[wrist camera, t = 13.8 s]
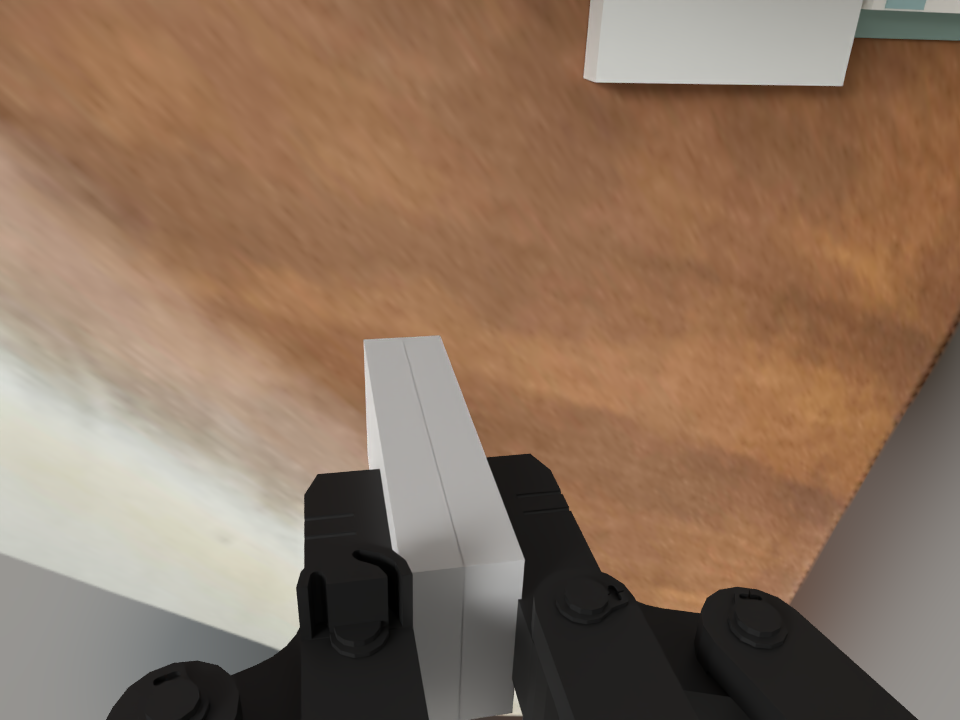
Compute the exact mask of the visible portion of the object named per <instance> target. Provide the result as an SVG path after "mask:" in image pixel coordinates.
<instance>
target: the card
mask: <svg viewBox="0 0 960 720" xmlns="http://www.w3.org/2000/svg"><path fill="white" fill-rule="evenodd" d="M861 9H869V10H891V11H914V12H937V13H960V0H863V2H862V6H861Z"/></svg>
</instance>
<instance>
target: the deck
mask: <svg viewBox="0 0 960 720" xmlns="http://www.w3.org/2000/svg"><path fill="white" fill-rule="evenodd" d="M862 2H863V0H591V1H590V12H589V23H588V34H587V44H586V55H585V66H584V77H583V78H585V79H588V80H590V81H593V82H602V83H670V84H738V85H806V86H843V82H844V78H845V74H846V69H847V65H848V61H849V57H850V53H851V48H852V44H853V40H854V36H855V32H856V27H857V23H858V19H859V15H860V11H861V6H862Z"/></svg>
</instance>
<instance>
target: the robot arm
mask: <svg viewBox="0 0 960 720" xmlns="http://www.w3.org/2000/svg"><path fill="white" fill-rule="evenodd" d="M364 362H365V390H366V418H367V446H368V462H369V469H370V470H361V471H349V472H338V473H326V474H318V475H317V476H316V478H315V479H314V481H313V482H312V484H311V485H310V487H309V489H308V490H307V492H306V493H305V495H304V518H305V522H304V537H305V541H304V569H303V570H302V571H301V573H300V577H299V580H298V584H297V587H296V591H297V601H298V612H299V622H300V628H299V630H298V632H297V634H296V635H295V636H294V638H293V639H292V640H291V641H290V642H289V643H288V645H287V646H286V647H285V648H283V649H282V650H281V651H279V652H278V653H277V654H275V655H274V656H273V657H271V658H269V659H267V660H265V661H263V662H262V663H259V664H257V665H255V666H253V667H250V668H248V669H246V670H243V671H241V672H238V673H236V674H233V675H229V674H228V673H227V672H226V671H225V670H223V669H222V668H221V667H219V666H218V665H214V664H210V663H205V662H201V661H189V662H179V663H172V664H170V665H167V666H165V667H162V668H160V669H157V670H154V671H152V672H149V673H148V674H147V675H145V676H144V677H142V678H141V679H140V680H138V681H137V682H135V683H134V684H133V685H131V686H130V687H129V688H128V689H127V690H126V691H125V692H124V694H123V695H122V696H121V698H120V699H119V700H118V701H117V703H116V704H115V705H114V706H113V708H112V710H111V712H110V713H109V715H108V717H107V719H106V720H469V719H476V718H482V717H489V716H495V715H502V714H508V713H512V710H513V697H514V688H515V691H516V694H517V698H518V701H519V704H520V708H521V711H522V715H523V720H918V719H917V718H916V717H915V716H913V715H912V714H911V713H910V712H909V711H908V710H907V709H906V708H905V707H904V706H902V705H901V704H900V703H899V702H898V701H897V700H896V699H895V698H893V697H892V696H891V695H890V694H889V693H888V692H887V691H886V690H885V689H883V688H882V687H881V686H880V685H879V684H878V683H877V682H876V681H875V680H873V679H872V678H871V677H870V676H869V675H868V674H867V673H866V672H865V671H863V670H862V669H861V668H860V667H859V666H858V665H857V664H855V663H854V662H853V661H852V660H851V659H850V658H849V657H848V656H847V655H845V654H844V653H843V652H842V651H841V650H840V649H839V648H838V647H837V646H835V645H834V644H833V643H832V642H831V641H830V640H829V639H828V638H827V637H825V636H824V635H823V634H822V633H821V632H820V631H819V630H818V629H817V628H815V627H814V626H813V625H812V624H811V623H810V622H809V621H808V620H806V619H805V618H804V617H803V616H802V615H801V614H800V613H799V612H797V611H796V610H795V609H794V608H792V607H791V606H790V605H788V604H787V603H785V602H784V601H782V600H781V599H779V598H778V597H775V596H773V595H770V594H768V593H765V592H763V591H760V590H757V589H750V588H742V587H733V588H727V589H721V590H718V591H717V592H715V593H714V594H712V595H711V596H709V597H708V598H707V599H706V601H705V603H704V606H703V608H702V610H701V613H693V612H686V611H678V610H671V609H663V608H658V607H653V606H649V605H645V604H643V603H640V602H638V601H636V600H635V598H634V596H633V595H632V594H631V593H630V591H629V590H628V589H627V588H626V586H625V585H624V584H623V583H621V582H619V581H618V580H616V579H615V578H613V577H612V576H610V575H608V574H606V573H603V572H601V570H600V568H599V566H598V564H597V562H596V560H595V558H594V556H593V554H592V552H591V550H590V548H589V546H588V544H587V542H586V540H585V538H584V536H583V534H582V532H581V530H580V528H579V526H578V524H577V522H576V520H575V518H574V516H573V514H572V512H571V511H569V506H568V504H567V502H566V500H565V498H564V496H563V494H561V490H560V488H559V486H558V484H557V482H556V480H555V478H554V476H553V474H552V472H551V470H550V469H549V468H547V467H546V466H545V465H544V464H542V463H541V462H540V461H539V460H537V459H536V458H535V457H534V456H532V455H531V454H521V455H509V456H498V457H486V456H485V453H484V451H483V448H482V445H481V443H480V440H479V437H478V435H477V432H476V429H475V427H474V424H473V422H472V419H471V416H470V414H469V411H468V408H467V406H466V403H465V400H464V398H463V395H462V392H461V390H460V387H459V384H458V382H457V379H456V376H455V374H454V371H453V369H452V366H451V363H450V361H449V358H448V355H447V353H446V350H445V347H444V345H443V342H442V339H441V337H440V336H423V337H404V338H385V339H366V340H364Z"/></svg>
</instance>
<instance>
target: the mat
mask: <svg viewBox="0 0 960 720" xmlns="http://www.w3.org/2000/svg"><path fill="white" fill-rule="evenodd" d="M854 37H856V38H890V39H925V40H959V41H960V13H937V12H914V11H891V10H869V9H861V11H860V15H859V19H858V23H857V27H856V32H855V36H854Z"/></svg>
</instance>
